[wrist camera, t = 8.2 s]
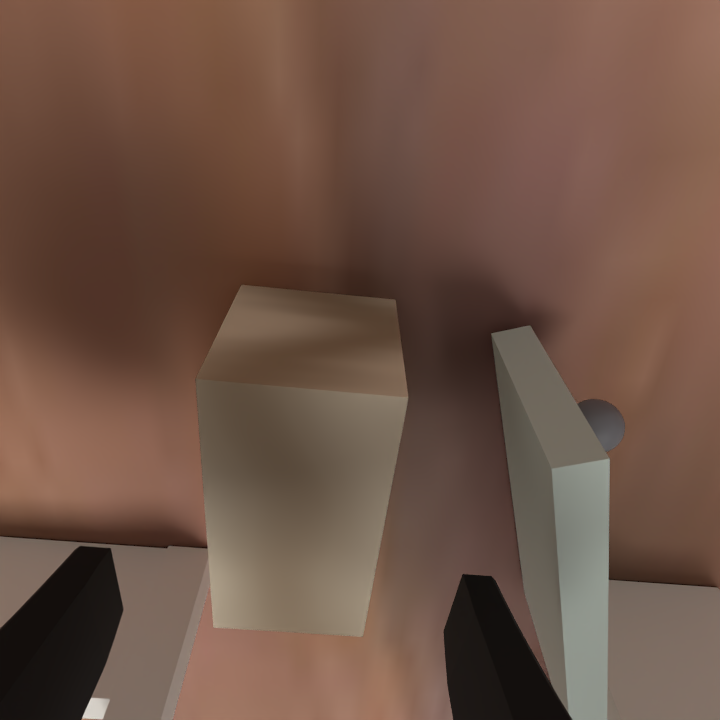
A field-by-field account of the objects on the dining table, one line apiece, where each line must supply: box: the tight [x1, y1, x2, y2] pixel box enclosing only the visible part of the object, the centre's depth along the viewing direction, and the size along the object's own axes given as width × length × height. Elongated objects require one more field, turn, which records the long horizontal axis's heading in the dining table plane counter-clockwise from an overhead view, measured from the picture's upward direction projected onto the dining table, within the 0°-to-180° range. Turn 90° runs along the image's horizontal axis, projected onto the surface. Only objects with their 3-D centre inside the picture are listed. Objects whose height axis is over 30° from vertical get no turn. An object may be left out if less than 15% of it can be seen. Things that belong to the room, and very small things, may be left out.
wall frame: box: [0, 537, 720, 720], centre depth 17 cm, size 27×2×6 cm, turn 84°
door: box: [491, 325, 625, 720], centre depth 14 cm, size 11×2×5 cm, turn 14°
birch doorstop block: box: [195, 285, 408, 637], centre depth 14 cm, size 4×8×4 cm, turn 174°
